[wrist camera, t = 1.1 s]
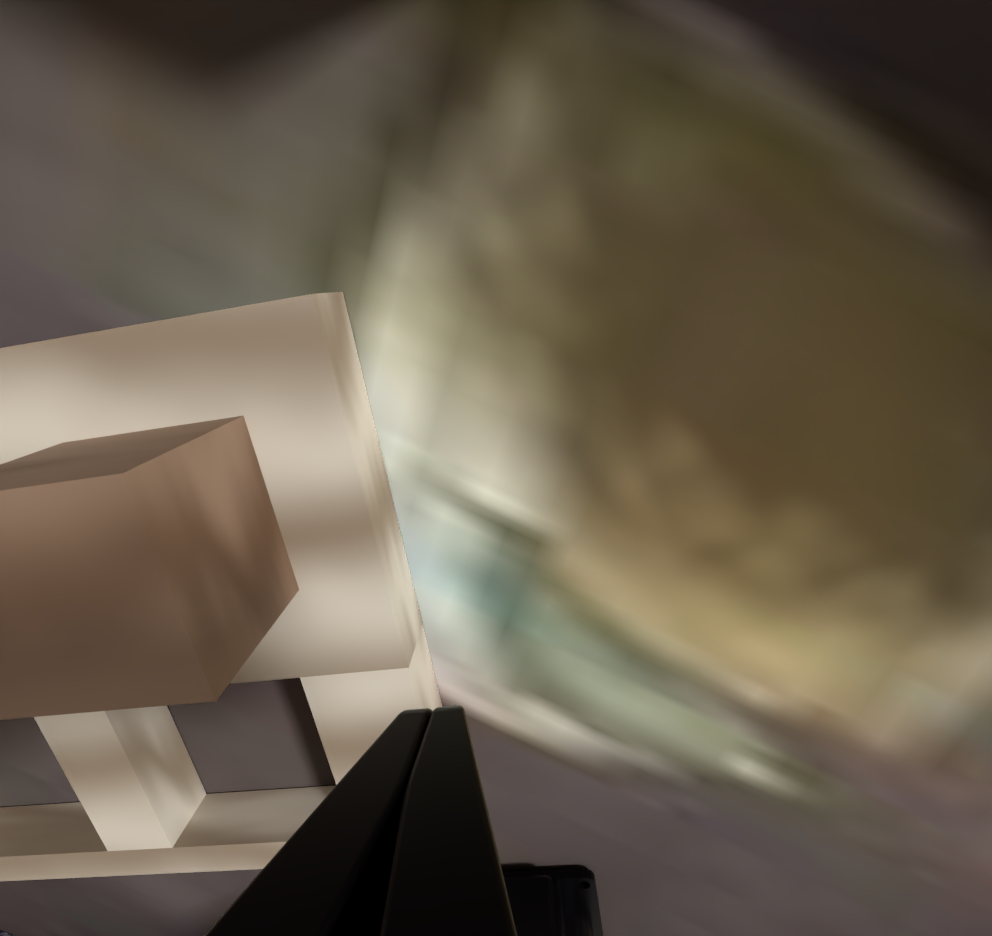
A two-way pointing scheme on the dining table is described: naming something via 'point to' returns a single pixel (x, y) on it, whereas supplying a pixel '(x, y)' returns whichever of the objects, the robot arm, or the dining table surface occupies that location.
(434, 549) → the dining table surface
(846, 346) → the dining table surface
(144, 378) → the trap deck
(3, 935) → the storage jar
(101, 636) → the walnut block
